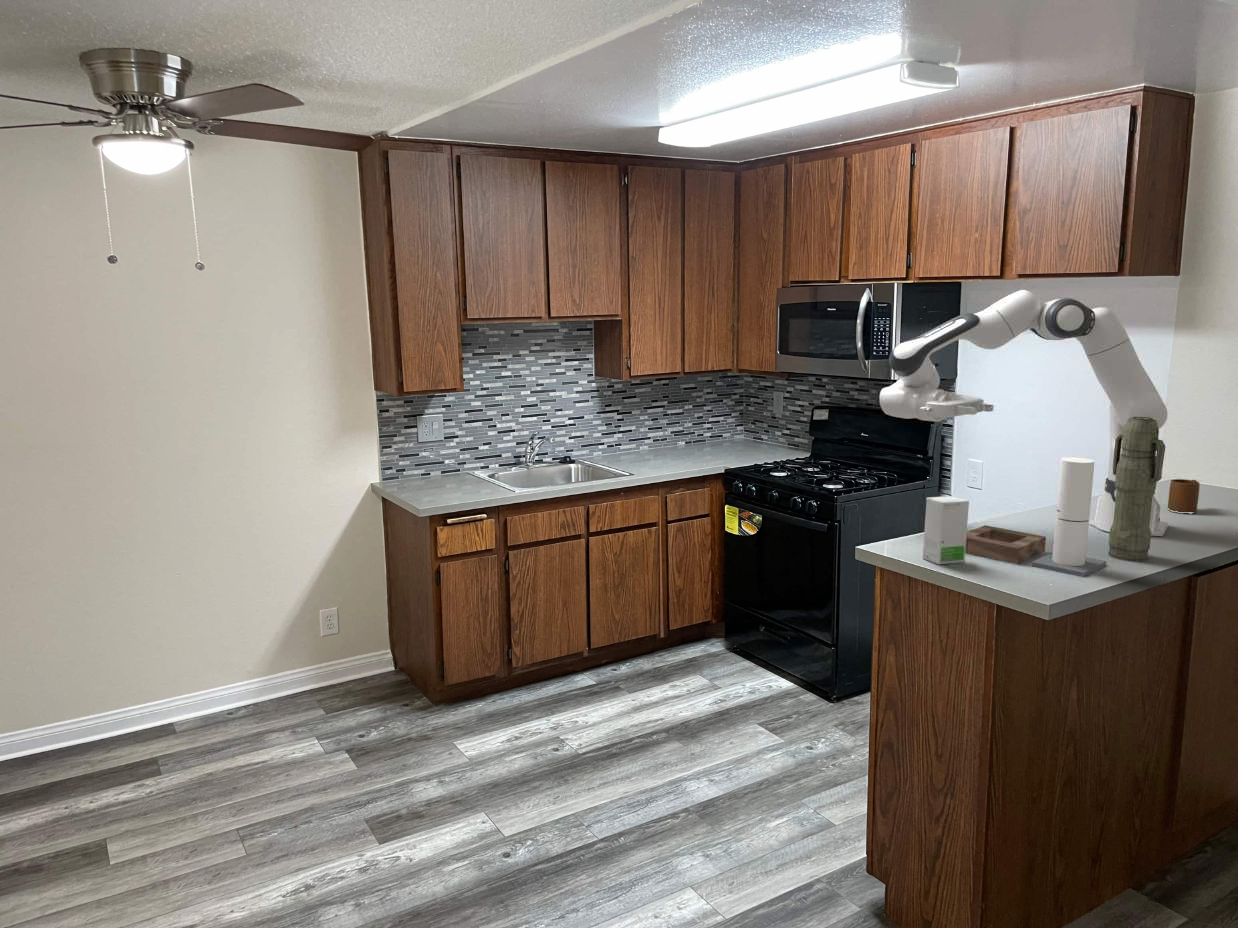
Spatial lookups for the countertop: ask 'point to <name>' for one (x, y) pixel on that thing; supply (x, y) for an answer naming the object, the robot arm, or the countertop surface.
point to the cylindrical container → (1073, 511)
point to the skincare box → (945, 529)
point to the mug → (1183, 495)
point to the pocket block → (1004, 544)
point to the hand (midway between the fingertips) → (984, 409)
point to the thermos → (1135, 487)
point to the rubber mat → (1081, 570)
